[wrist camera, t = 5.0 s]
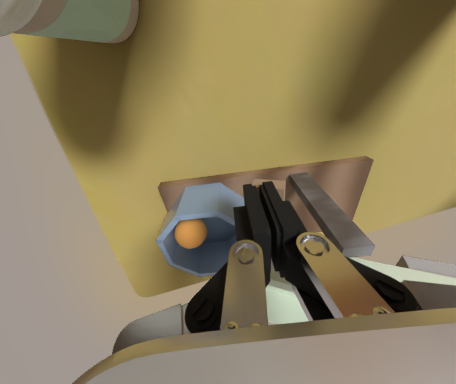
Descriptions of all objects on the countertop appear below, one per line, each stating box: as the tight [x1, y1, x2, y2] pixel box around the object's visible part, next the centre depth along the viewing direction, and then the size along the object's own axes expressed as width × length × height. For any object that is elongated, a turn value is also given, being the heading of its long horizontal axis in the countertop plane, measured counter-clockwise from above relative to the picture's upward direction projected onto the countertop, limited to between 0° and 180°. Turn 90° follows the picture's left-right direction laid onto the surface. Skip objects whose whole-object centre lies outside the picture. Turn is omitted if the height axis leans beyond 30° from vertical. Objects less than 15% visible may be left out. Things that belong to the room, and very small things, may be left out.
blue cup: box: [156, 182, 245, 277], centre depth 21 cm, size 10×10×6 cm
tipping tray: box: [252, 179, 456, 325], centre depth 12 cm, size 14×13×5 cm
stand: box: [158, 156, 375, 258], centre depth 19 cm, size 26×11×12 cm, turn 97°
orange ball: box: [174, 218, 207, 249], centre depth 21 cm, size 4×4×4 cm
